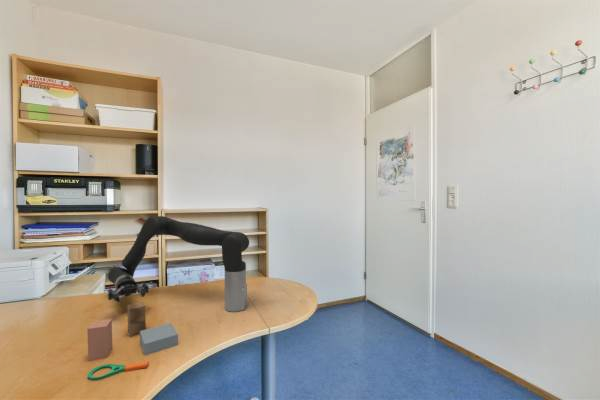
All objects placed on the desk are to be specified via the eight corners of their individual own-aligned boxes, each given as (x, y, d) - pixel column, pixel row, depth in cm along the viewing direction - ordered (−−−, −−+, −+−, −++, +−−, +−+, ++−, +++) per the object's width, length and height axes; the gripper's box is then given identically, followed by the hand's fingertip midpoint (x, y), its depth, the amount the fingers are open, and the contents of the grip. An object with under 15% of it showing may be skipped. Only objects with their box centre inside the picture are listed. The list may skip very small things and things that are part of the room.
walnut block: (143, 327, 106) (142, 301, 105) (145, 332, 102) (145, 305, 101) (127, 331, 103) (127, 304, 102) (129, 337, 99) (129, 309, 98)
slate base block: (171, 333, 102) (171, 322, 102) (178, 345, 94) (177, 334, 94) (140, 342, 96) (139, 331, 96) (144, 356, 88) (144, 344, 88)
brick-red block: (112, 348, 91) (111, 319, 91) (107, 357, 87) (106, 326, 86) (94, 351, 90) (93, 321, 89) (88, 360, 85) (87, 328, 85)
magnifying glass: (83, 384, 76) (83, 378, 76) (93, 370, 81) (93, 364, 81) (145, 374, 80) (145, 368, 80) (150, 361, 85) (150, 356, 85)
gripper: (106, 279, 119) (109, 291, 106) (143, 273, 128) (150, 283, 115) (106, 296, 119) (109, 310, 106) (143, 289, 128) (150, 301, 115)
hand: (131, 296), depth 111 cm, fingers open, 8 cm apart
